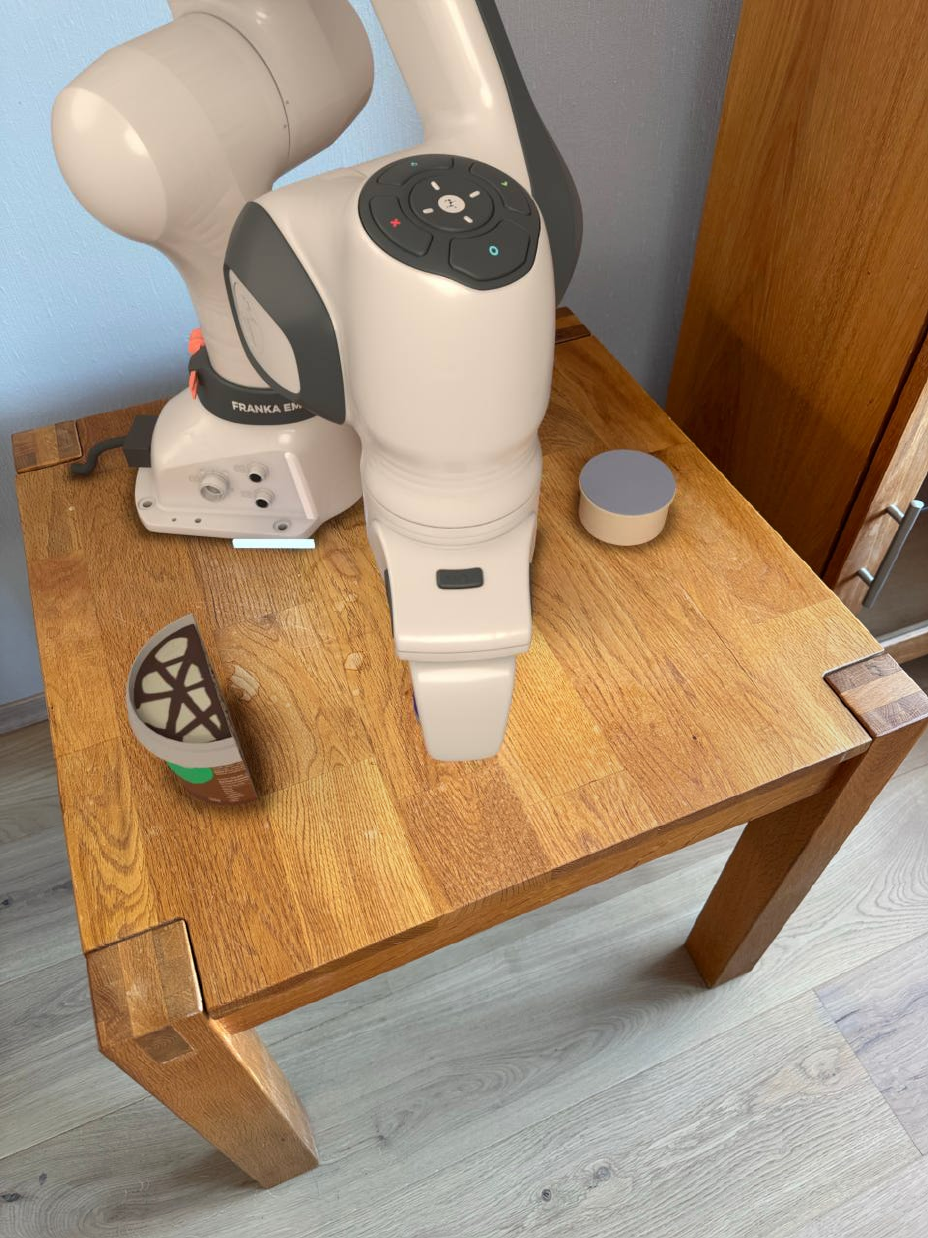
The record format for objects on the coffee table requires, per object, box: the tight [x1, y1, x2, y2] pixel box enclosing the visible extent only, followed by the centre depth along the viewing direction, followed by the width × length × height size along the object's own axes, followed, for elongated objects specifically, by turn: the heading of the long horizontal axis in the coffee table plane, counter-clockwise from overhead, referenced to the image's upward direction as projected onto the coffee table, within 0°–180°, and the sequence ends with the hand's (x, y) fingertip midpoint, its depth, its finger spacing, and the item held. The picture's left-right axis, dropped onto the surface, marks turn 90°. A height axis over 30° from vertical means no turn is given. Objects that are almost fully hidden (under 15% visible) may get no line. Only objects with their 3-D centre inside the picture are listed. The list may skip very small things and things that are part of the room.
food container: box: [125, 613, 259, 807], centre depth 65 cm, size 12×6×10 cm, turn 24°
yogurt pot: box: [578, 449, 677, 547], centre depth 83 cm, size 9×9×4 cm
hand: (451, 662), depth 57 cm, fingers closed on beverage can, 5 cm apart
